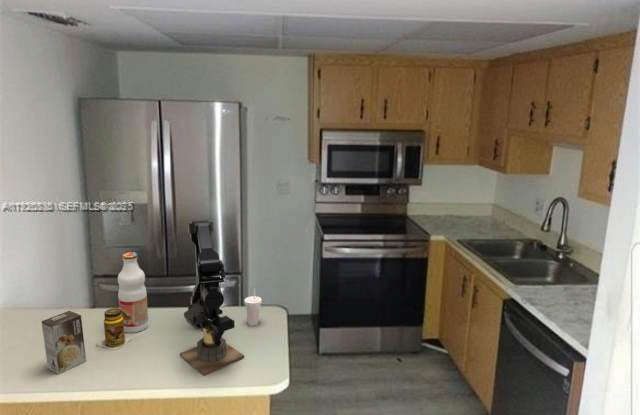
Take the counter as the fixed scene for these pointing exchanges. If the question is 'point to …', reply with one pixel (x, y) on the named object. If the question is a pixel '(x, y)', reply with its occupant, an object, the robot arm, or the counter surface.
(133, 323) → the fruit juice
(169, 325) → the counter surface
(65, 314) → the coffee box
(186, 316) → the robot arm
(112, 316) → the condiment
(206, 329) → the brass pin
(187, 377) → the counter surface
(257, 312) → the smoothie
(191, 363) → the ring socket
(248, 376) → the counter surface
